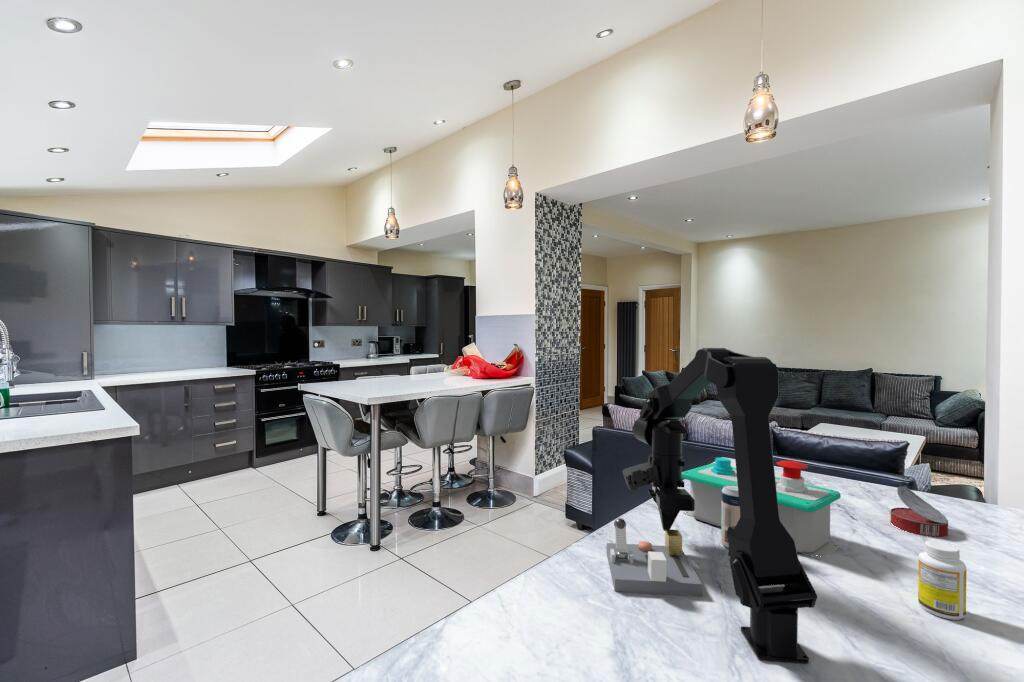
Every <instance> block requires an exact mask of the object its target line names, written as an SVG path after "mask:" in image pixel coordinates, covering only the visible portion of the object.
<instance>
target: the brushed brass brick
mask: <svg viewBox="0 0 1024 682" xmlns="http://www.w3.org/2000/svg"><path fill="white" fill-rule="evenodd" d="M664 538H665V539H664V546H665V548H666V550H667V552H668V554H669V555H681V556H682V550H683V535H682V533H681V532H680V530H679V529H671V528H670V529H665V531H664Z"/></svg>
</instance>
